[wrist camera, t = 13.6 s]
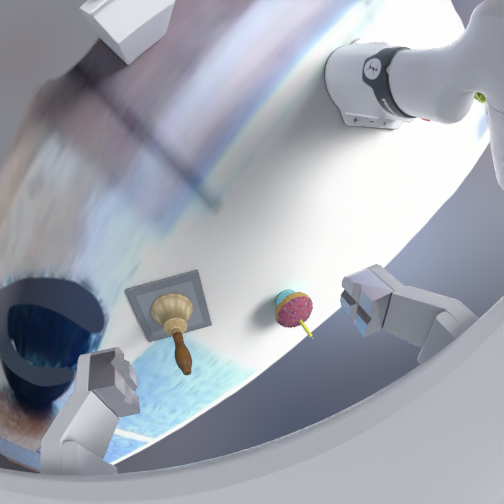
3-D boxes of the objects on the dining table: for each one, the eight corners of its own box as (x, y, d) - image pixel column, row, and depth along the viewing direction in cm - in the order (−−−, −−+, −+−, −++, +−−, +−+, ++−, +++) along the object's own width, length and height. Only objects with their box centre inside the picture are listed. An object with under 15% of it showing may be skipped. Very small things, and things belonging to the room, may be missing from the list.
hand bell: (163, 286, 50) (175, 350, 37) (200, 301, 55) (222, 363, 42) (143, 317, 52) (150, 382, 39) (179, 330, 56) (195, 392, 43)
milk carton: (165, 35, 31) (180, -13, 15) (128, 65, 31) (113, 34, 16) (137, 8, 27) (135, -51, 11) (99, 38, 27) (70, -6, 12)
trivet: (197, 269, 52) (198, 271, 51) (211, 323, 59) (211, 325, 58) (125, 289, 48) (125, 291, 48) (149, 340, 56) (149, 342, 55)
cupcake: (306, 299, 66) (332, 333, 56) (275, 319, 65) (298, 355, 55) (295, 275, 61) (324, 309, 51) (261, 296, 60) (285, 334, 50)
